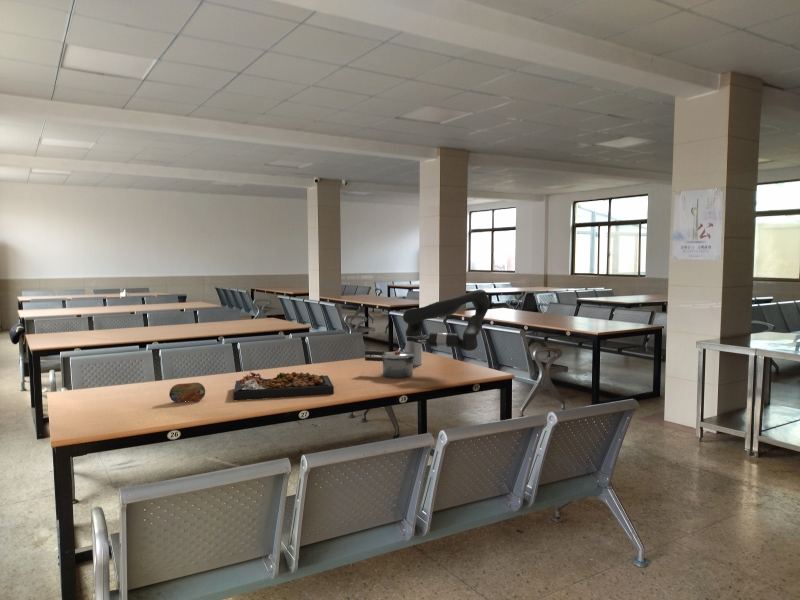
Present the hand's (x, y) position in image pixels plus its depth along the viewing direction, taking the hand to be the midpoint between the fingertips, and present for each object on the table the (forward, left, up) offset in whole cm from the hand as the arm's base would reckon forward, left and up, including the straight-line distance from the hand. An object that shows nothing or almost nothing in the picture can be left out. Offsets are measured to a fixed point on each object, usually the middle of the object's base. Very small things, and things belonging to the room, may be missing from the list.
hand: (407, 338), depth 306 cm
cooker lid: (-9, -5, -10) cm, 14 cm away
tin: (-30, -107, -20) cm, 113 cm away
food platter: (-16, -66, -21) cm, 71 cm away
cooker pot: (-9, -5, -20) cm, 22 cm away
